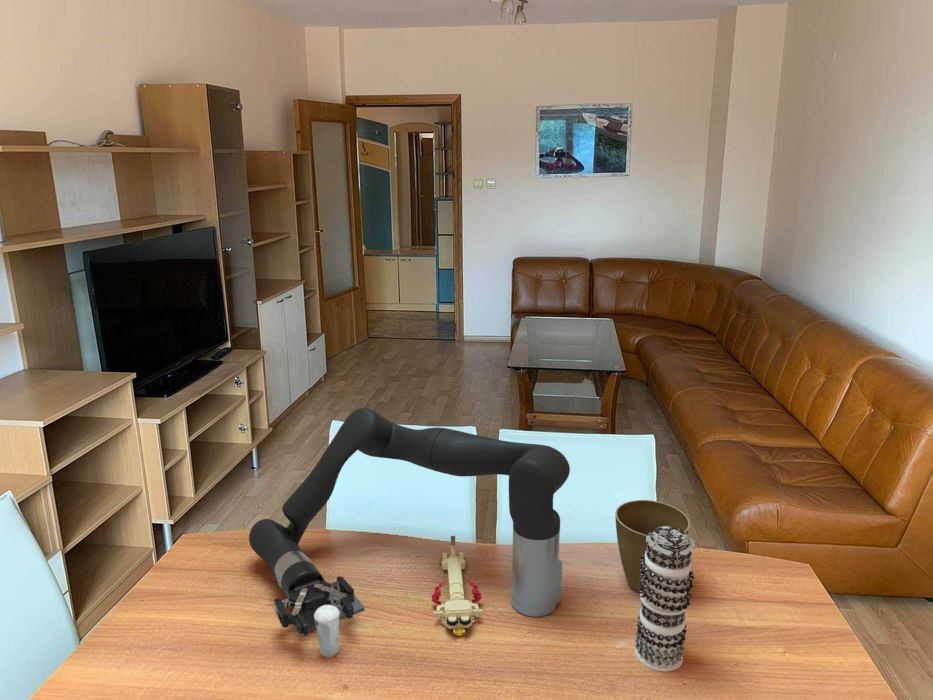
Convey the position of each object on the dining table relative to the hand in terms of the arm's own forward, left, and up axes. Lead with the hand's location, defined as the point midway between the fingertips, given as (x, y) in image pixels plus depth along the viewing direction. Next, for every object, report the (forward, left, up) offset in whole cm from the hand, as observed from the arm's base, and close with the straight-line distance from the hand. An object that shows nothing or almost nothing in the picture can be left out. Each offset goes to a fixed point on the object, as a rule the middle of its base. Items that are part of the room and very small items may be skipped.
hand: (329, 622), depth 123 cm
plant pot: (-64, +18, -6) cm, 67 cm away
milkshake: (0, 0, -6) cm, 6 cm away
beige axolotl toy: (-27, 0, -6) cm, 28 cm away
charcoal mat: (-4, -12, -6) cm, 14 cm away
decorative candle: (-50, +34, -6) cm, 60 cm away
